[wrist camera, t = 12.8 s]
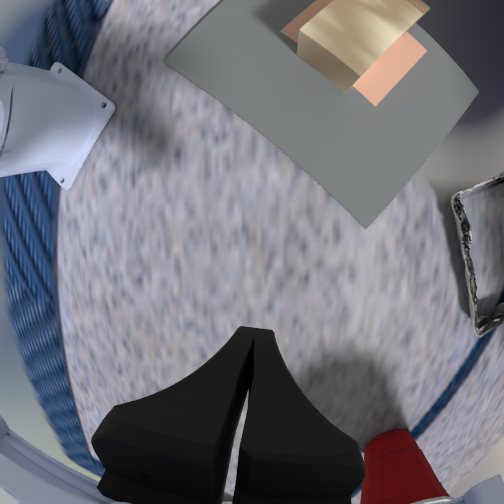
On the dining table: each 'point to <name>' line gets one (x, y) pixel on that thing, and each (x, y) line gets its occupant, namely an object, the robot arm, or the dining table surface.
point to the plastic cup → (399, 472)
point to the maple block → (355, 36)
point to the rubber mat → (328, 98)
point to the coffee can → (226, 502)
